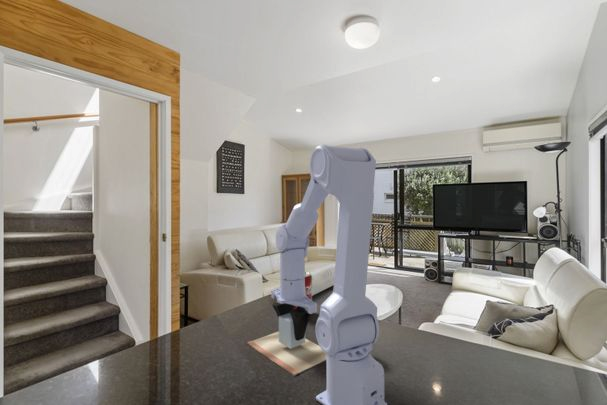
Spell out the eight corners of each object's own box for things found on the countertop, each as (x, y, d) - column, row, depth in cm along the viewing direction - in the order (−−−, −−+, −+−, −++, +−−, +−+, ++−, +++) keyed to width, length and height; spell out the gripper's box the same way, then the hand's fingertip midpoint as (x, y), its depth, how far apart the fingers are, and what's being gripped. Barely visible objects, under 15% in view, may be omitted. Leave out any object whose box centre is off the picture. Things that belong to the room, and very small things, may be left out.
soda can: (284, 316, 92) (284, 276, 91) (292, 308, 99) (292, 270, 98) (308, 319, 90) (308, 278, 89) (314, 310, 96) (314, 272, 96)
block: (305, 342, 72) (305, 316, 72) (290, 348, 70) (290, 322, 69) (293, 336, 76) (293, 311, 76) (278, 341, 73) (278, 316, 73)
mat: (335, 355, 69) (335, 353, 69) (294, 375, 62) (294, 374, 61) (286, 329, 83) (286, 328, 83) (246, 343, 75) (246, 342, 75)
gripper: (260, 274, 75) (261, 330, 76) (299, 287, 64) (300, 352, 65) (283, 269, 80) (284, 322, 80) (323, 281, 69) (324, 342, 69)
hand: (292, 335), depth 73 cm, fingers closed on block, 4 cm apart
